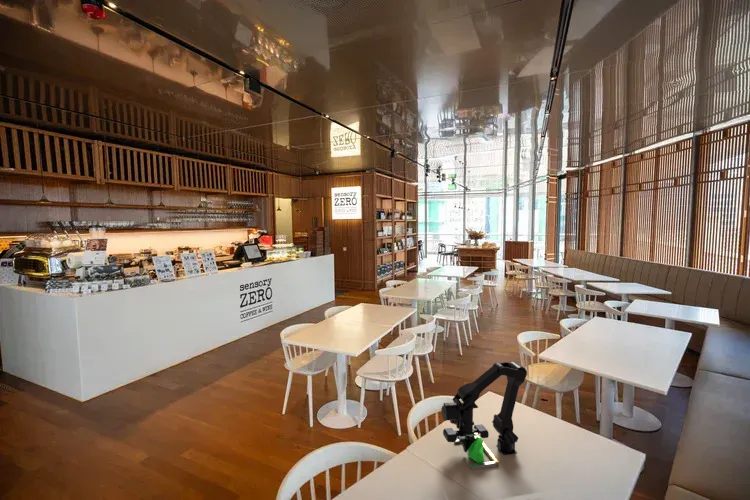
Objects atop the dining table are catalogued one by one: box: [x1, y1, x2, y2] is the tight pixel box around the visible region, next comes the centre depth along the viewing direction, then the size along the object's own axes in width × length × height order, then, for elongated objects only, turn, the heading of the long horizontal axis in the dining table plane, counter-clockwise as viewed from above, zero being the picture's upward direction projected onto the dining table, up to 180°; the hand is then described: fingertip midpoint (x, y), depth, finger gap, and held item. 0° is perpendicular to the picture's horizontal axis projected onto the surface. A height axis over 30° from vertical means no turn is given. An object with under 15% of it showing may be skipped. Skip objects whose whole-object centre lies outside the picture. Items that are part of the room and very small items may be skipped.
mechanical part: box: [468, 436, 485, 464], centre depth 143 cm, size 12×6×8 cm
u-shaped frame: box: [453, 435, 500, 471], centre depth 144 cm, size 12×17×2 cm
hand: (465, 451), depth 143 cm, fingers closed
